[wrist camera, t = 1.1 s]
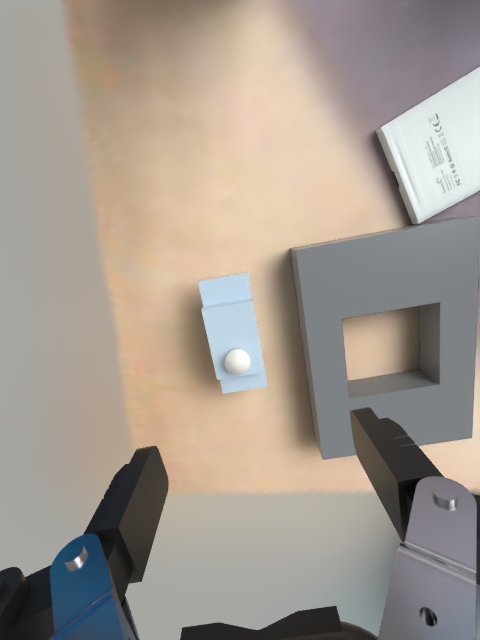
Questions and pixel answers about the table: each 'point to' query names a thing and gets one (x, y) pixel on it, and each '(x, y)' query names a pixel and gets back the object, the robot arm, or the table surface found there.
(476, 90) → the external hard drive
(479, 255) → the frame
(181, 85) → the table surface
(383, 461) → the robot arm
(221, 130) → the table surface
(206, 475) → the table surface
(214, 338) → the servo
